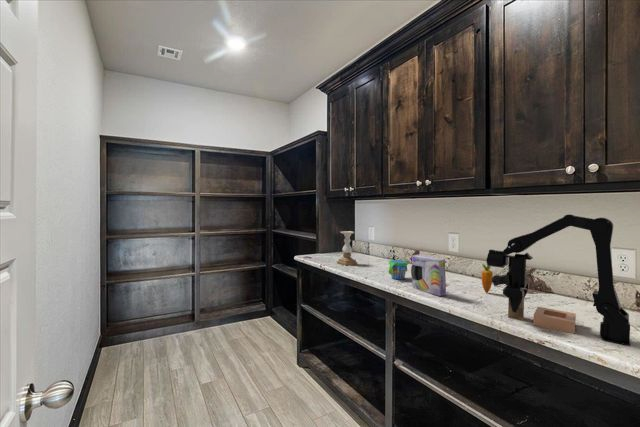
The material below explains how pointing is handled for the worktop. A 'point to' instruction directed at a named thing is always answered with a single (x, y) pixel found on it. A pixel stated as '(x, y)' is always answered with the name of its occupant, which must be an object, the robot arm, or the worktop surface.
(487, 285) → the carrot
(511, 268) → the robot arm
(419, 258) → the cake pan box
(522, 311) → the walnut peg
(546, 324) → the frame
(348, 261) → the candle holder
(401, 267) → the snack cup
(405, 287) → the worktop surface
